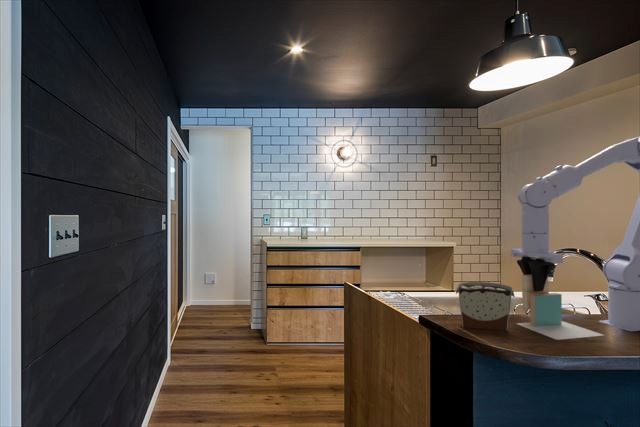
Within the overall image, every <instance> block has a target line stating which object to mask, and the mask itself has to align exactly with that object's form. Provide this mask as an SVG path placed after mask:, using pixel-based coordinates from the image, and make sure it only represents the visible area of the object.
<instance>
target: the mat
mask: <svg viewBox="0 0 640 427" xmlns="http://www.w3.org/2000/svg"><path fill="white" fill-rule="evenodd" d="M516 325H518V326H520V327H523V328H526V329H527V330H531V331H533V332H536V333H539V334H541V335H544V336H546V337H549V338H551V339H552V340H553V339H554V340H556V341H560V340H569V339H570V340H572V339H581V338H592V337H602V336H606V335H605V334H602V333H600V332H597V331H593V330H590V329H587V328H584V327H581V326H578V325H575V324H573V323H569V322H566V321H563V320H562V325H551V326H539V327H535V326H532V325H530V321H528V322H519V323H516Z"/></svg>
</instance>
